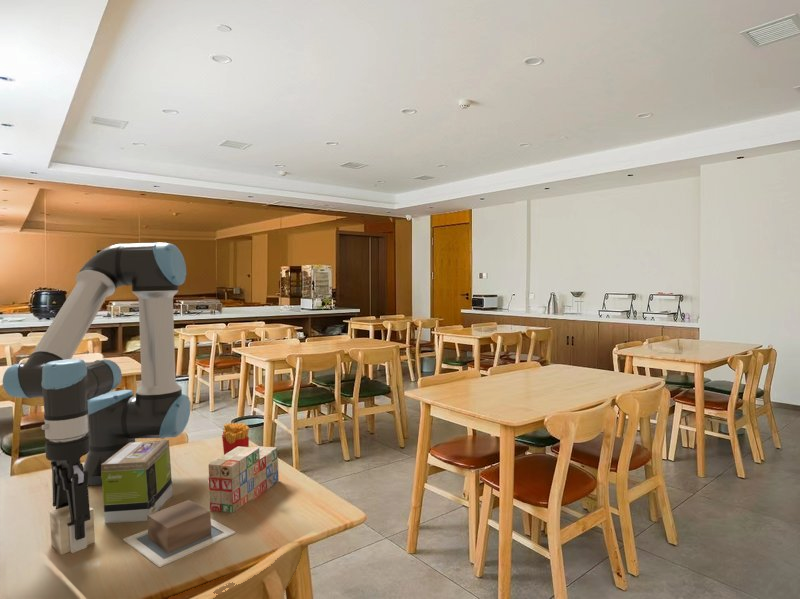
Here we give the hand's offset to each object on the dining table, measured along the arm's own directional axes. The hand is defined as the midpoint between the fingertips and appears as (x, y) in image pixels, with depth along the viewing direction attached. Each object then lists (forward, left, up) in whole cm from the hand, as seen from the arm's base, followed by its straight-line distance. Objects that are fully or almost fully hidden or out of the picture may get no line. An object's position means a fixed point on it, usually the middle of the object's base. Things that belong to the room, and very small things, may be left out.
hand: (72, 547), depth 105 cm
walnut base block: (+15, +15, +1) cm, 21 cm away
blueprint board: (+15, +15, 0) cm, 21 cm away
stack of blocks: (+7, +36, -1) cm, 37 cm away
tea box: (-6, +16, -1) cm, 17 cm away
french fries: (-11, +45, 0) cm, 47 cm away
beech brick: (0, 0, 0) cm, 0 cm away
